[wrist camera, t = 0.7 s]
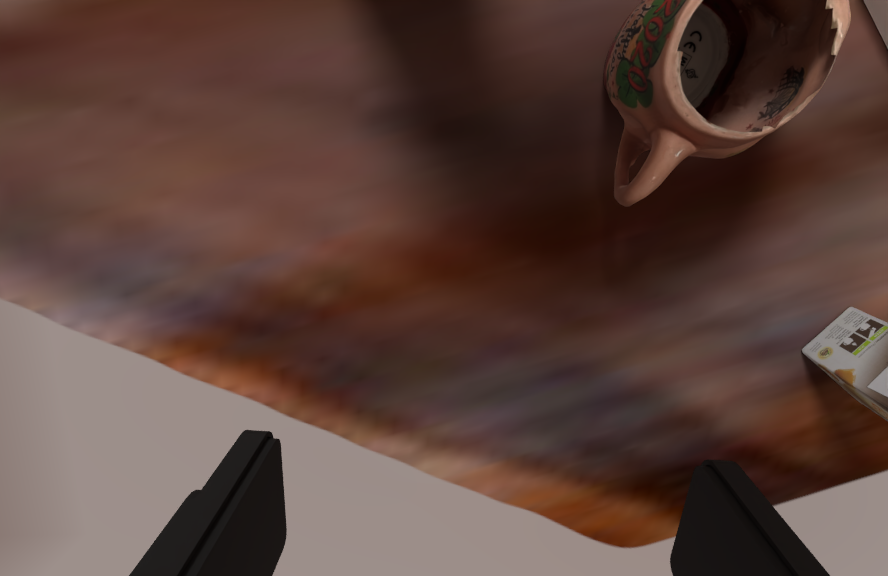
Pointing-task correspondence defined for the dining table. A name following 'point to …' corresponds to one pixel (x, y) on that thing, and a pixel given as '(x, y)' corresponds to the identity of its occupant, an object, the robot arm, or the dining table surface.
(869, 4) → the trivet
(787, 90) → the decorative planter
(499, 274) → the dining table surface
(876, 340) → the coffee box
